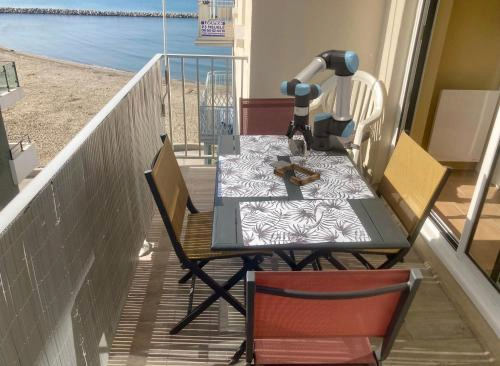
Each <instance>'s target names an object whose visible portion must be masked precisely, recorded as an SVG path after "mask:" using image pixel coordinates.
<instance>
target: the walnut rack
mask: <svg viewBox="0 0 500 366" xmlns="http://www.w3.org/2000/svg"><path fill="white" fill-rule="evenodd" d="M292 170H294V171H297V172H299V173H301V174H304V175H306V177H305V178H302V179H300V178H298V177H295V176H294V175H292V176H290V179H289V181H290V183H292V184H294V185H297V186H299V187H303V186H305V185H308V184H310V183H313V182H316V181H319V180H321V176H322V175H321V173H318V172H316V171H314V170H312V169H309V168H306V167H304V166H302V165H299V164H297V163H294V162H293V163H290V164H289V165H286V166H283V167H279V168H274V169H273V171H272V172H273V175H274V174H275V176H276V175H277V176H276V177H278V176H279V178H280V179H284V178H285V173H286V172H289V171H292Z"/></svg>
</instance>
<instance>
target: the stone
mask: <svg viewBox="0 0 500 366" xmlns="http://www.w3.org/2000/svg"><path fill="white" fill-rule="evenodd" d="M305 145H306V144H305V139H304V140H303V139H298V138H297V139H296V138H295V139H293V141H291V142H290V144H288V148H290V150H289V151H290V154H291V155H293V156H300V157H302V158H305Z"/></svg>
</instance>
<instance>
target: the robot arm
mask: <svg viewBox="0 0 500 366" xmlns="http://www.w3.org/2000/svg"><path fill="white" fill-rule="evenodd" d="M359 66H360V57H359V55H358V53H356V52H355V51H351V50H341V49H340V50H338V49H328V50H325V51H322V52H321V53H319V54H317V55H316V56H315V57H314V58H312V60H311V63H309V64H308V65H307V66H306V67H305V68H304V69H303V70H301V71H300V72H299V73H298V74H297V75H295V76H294V77H293V78H292V79H291V80H290V81H289V80H288V81H282V83H281V85H280V89H279V90H280V93H281V95H284V96H287V97H294V106H293V107H294V108H293V109H294V110H293V113H294V114H293V120H290V121H289V125H288V128H287V130H286V133H285V137H286V138H287V143H288V145H289V144H290V142H291V141H293V140H294V135H295V134H296V133H297V132H300V133H301V134H302V136H303V139H304V143H306V144H305V157H308V156H310V151H311V150H313V151H318V152H328V151H331V150H332V149H333V143H332V140H331V136H334V137H338V138H345V139H348V138H349V137H351V136H352V134H353V133H354V130H355V126H356V121H354V120H353V117H352V115H351V114H350V112H351V110H350V109H351V96H352V80H353V79H352V78H353V77H354V75H355V73H357V72H358V70H359ZM326 70H328V71H329V70H330V71H334V76H335V77H336V93H335V94H336V98H335V113H334V114H333V113H331V112H322V113H316V114H315V115H314V119H313V128H312V125H308V121H309V110H310V109H309V108H310V106H309V105H310V101H313V100H316V99H318V98H319V97H320V96H322V87H321V86H320V85H319V84H317V83H315V84H309V83H310V82H312V80H313V79H314V78H316V77H317V76H318V75H319V74H320V73H323V72H324V71H326ZM312 129H313V130H312ZM287 150H288V151H291V150H290V148H289V147H288V148H287ZM305 157H304V158H305Z"/></svg>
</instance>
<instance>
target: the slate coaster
mask: <svg viewBox="0 0 500 366" xmlns="http://www.w3.org/2000/svg"><path fill="white" fill-rule="evenodd" d="M289 164H291V163H290V162H287V161H286V160H279V161H275V162H272V163H268V166H270V167H272V166H273V167H272V168H274V169H276V168H279V167H283V166H286V165H289Z"/></svg>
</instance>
